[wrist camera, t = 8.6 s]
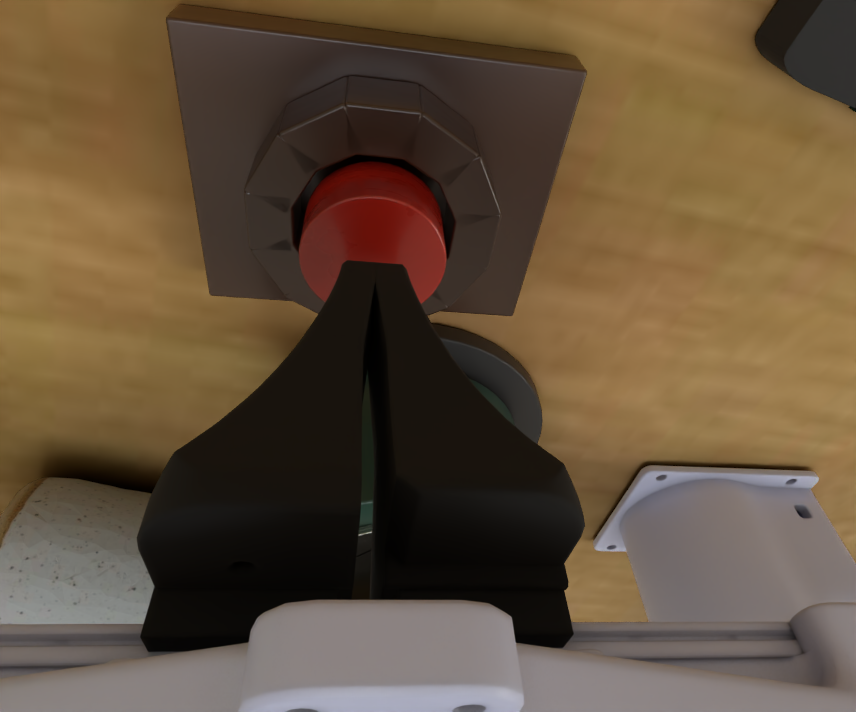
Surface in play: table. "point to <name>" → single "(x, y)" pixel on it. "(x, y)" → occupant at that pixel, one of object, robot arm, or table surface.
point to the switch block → (365, 143)
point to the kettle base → (496, 376)
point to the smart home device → (814, 45)
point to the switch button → (372, 226)
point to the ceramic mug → (73, 555)
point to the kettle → (365, 528)
